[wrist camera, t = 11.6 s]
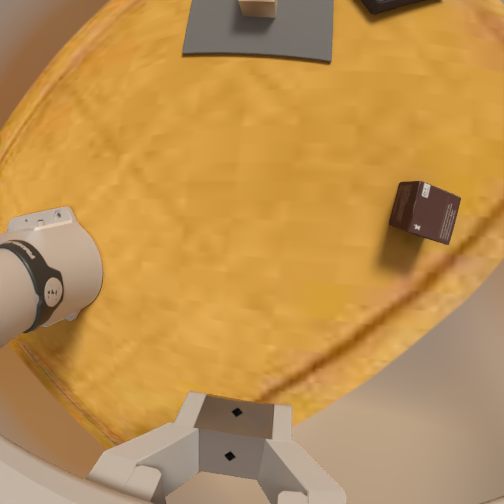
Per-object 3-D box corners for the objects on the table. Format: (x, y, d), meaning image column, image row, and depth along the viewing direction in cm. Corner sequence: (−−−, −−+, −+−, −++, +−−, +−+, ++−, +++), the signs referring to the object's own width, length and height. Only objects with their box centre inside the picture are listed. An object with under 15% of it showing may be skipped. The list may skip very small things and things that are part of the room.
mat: (183, 54, 38) (182, 52, 38) (198, -23, 35) (198, -25, 35) (330, 62, 37) (331, 60, 36) (333, -18, 34) (333, -20, 33)
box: (425, 237, 40) (449, 247, 33) (387, 224, 40) (406, 232, 33) (436, 194, 39) (462, 197, 32) (399, 180, 39) (420, 180, 32)
